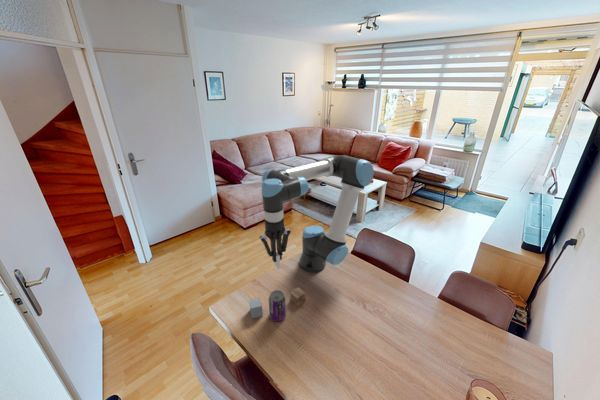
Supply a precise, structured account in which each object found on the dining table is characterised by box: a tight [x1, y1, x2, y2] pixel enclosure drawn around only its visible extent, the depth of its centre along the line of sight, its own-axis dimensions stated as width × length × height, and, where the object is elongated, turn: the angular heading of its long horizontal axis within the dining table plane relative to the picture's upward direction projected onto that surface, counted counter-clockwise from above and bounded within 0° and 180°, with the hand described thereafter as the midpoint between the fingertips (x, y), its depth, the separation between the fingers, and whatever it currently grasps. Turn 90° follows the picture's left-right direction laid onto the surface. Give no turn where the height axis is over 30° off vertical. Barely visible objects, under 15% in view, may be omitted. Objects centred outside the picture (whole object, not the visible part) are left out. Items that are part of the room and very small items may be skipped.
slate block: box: [248, 297, 264, 319], centre depth 114 cm, size 5×5×6 cm
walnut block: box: [289, 287, 306, 307], centre depth 121 cm, size 5×5×5 cm
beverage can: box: [268, 289, 287, 322], centre depth 111 cm, size 7×7×12 cm
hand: (277, 266), depth 109 cm, fingers closed
